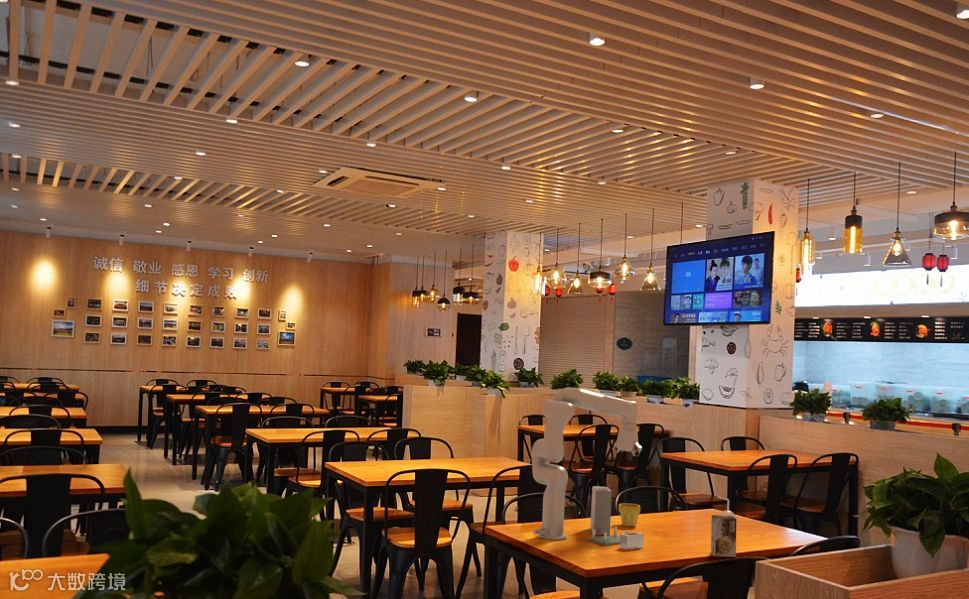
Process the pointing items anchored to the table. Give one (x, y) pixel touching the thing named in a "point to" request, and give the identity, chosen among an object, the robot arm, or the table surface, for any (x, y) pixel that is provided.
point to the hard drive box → (601, 510)
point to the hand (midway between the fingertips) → (627, 462)
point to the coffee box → (723, 536)
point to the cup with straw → (727, 512)
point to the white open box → (631, 540)
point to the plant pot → (629, 513)
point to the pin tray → (606, 538)
